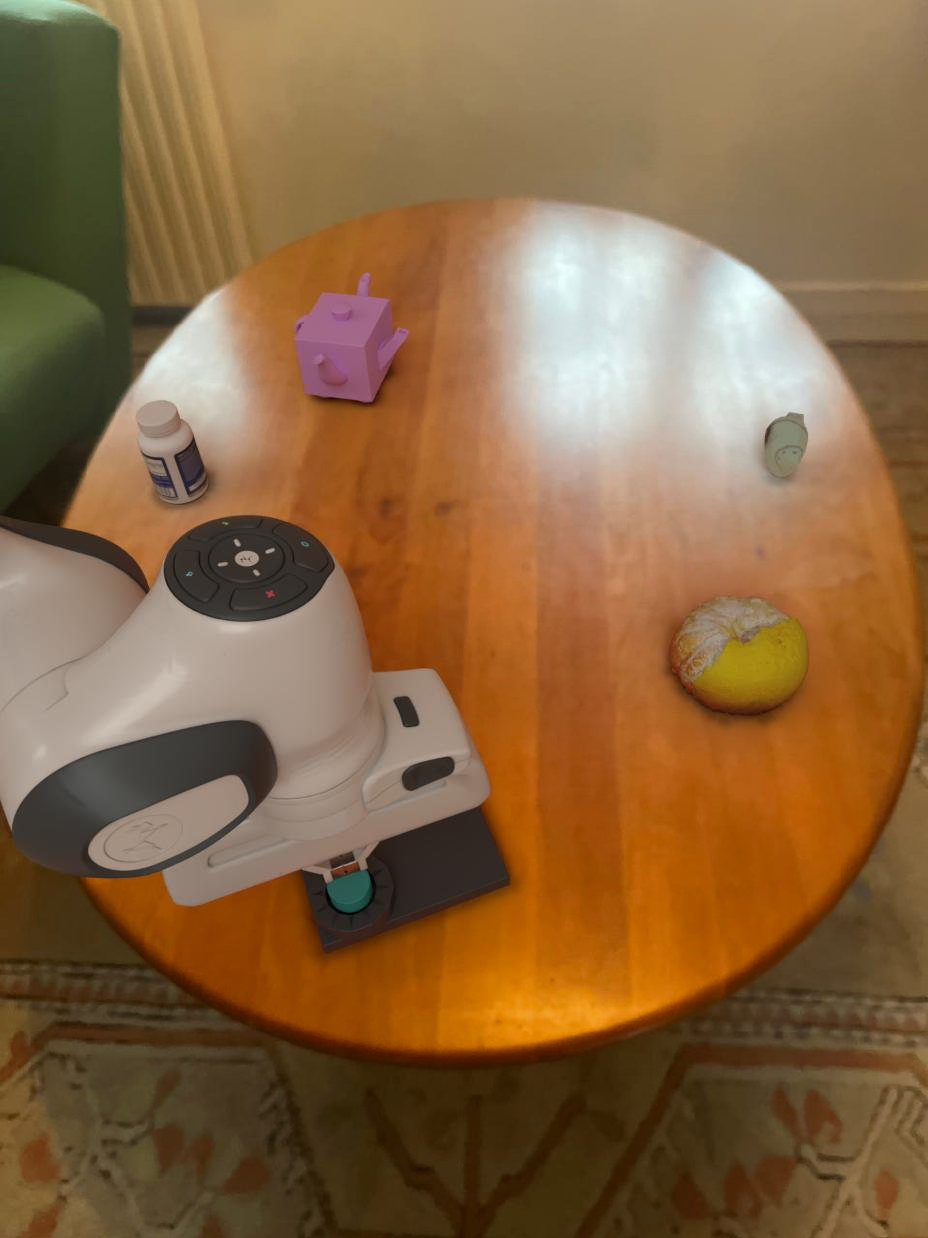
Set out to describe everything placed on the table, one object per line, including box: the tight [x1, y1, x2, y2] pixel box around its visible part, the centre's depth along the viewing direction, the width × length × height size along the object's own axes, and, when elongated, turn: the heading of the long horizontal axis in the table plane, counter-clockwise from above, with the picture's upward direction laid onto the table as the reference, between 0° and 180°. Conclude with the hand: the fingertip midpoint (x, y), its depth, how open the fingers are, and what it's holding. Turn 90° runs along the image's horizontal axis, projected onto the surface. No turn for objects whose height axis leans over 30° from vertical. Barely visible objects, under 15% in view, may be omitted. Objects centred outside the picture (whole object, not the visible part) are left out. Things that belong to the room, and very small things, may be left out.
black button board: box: [299, 805, 511, 955], centre depth 71 cm, size 14×12×3 cm
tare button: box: [327, 869, 373, 913], centre depth 66 cm, size 3×3×2 cm
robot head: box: [763, 411, 809, 478], centre depth 94 cm, size 8×4×7 cm, turn 164°
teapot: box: [293, 272, 410, 403], centre depth 106 cm, size 18×13×10 cm
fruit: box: [669, 594, 810, 717], centre depth 79 cm, size 11×10×8 cm
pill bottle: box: [135, 399, 209, 505], centre depth 95 cm, size 5×5×10 cm
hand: (344, 866), depth 63 cm, fingers closed
